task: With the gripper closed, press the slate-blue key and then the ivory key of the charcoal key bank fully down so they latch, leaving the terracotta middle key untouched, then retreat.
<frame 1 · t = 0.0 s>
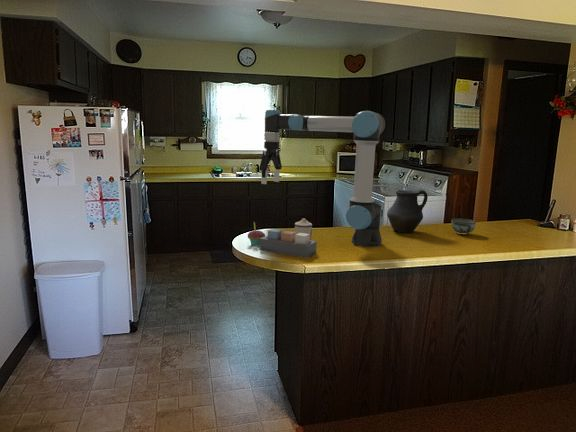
hand: (270, 182, 227), 28 cm above the table, fingers open, 13 cm apart
key terracotta: (288, 237, 201), point 7 cm above the table, slide at 0.0 cm
teacup with lid: (302, 240, 224), on the table
bowl: (462, 234, 255), on the table
key ivory: (302, 239, 198), point 6 cm above the table, slide at 0.0 cm
key bank: (287, 251, 202), on the table
key slate: (274, 235, 204), point 6 cm above the table, slide at 0.0 cm
cupcake: (256, 245, 212), on the table
pitcher: (404, 231, 256), on the table
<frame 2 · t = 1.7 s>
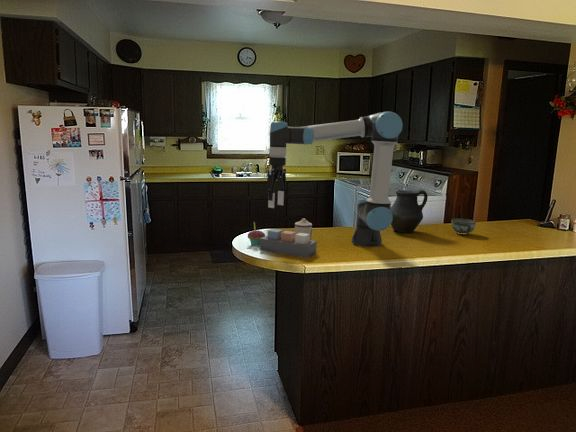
hand: (275, 206, 202), 20 cm above the table, fingers open, 9 cm apart
nothing on the table moved.
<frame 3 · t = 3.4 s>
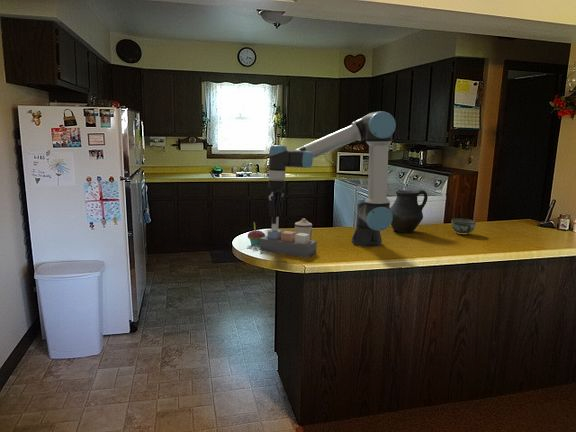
hand: (274, 230, 204), 9 cm above the table, fingers closed
key slate: (274, 236, 204), point 6 cm above the table, slide at 0.2 cm, touching gripper
everything else where it was.
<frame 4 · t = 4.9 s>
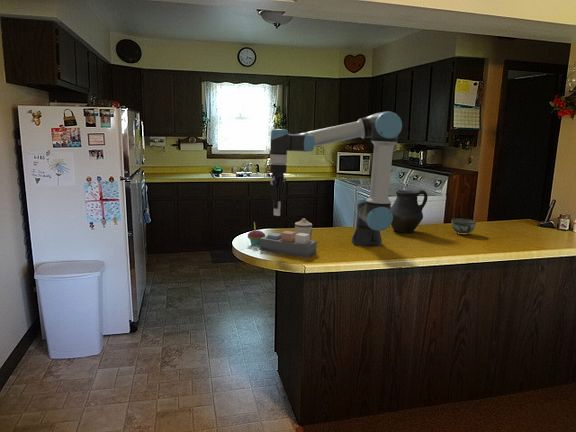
hand: (276, 215, 202), 16 cm above the table, fingers closed
key slate: (274, 239, 204), point 5 cm above the table, slide at 2.0 cm
everything else where it was.
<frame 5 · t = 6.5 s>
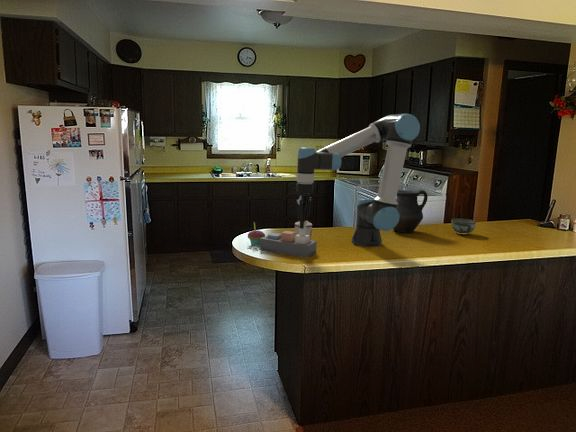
hand: (302, 235, 198), 9 cm above the table, fingers closed
key ivory: (302, 241, 198), point 6 cm above the table, slide at 0.6 cm, touching gripper
everything else where it was.
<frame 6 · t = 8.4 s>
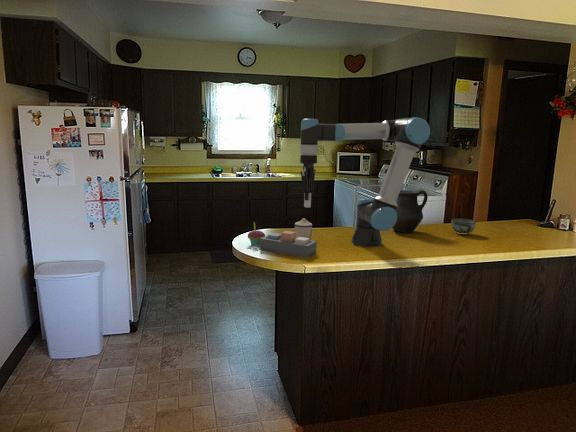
hand: (307, 207, 199), 21 cm above the table, fingers closed
key ivory: (302, 244, 199), point 5 cm above the table, slide at 2.0 cm
everything else where it was.
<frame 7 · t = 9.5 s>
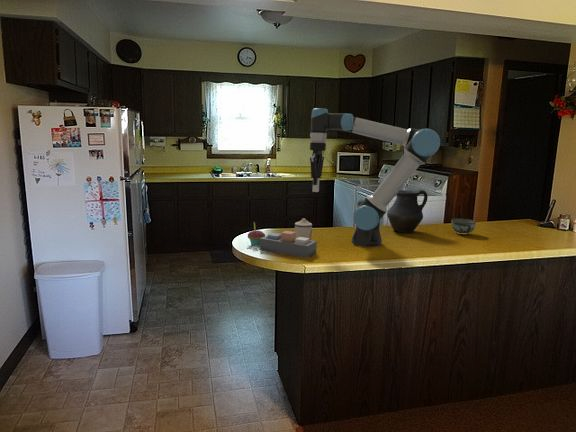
hand: (315, 191, 211), 26 cm above the table, fingers closed
nothing on the table moved.
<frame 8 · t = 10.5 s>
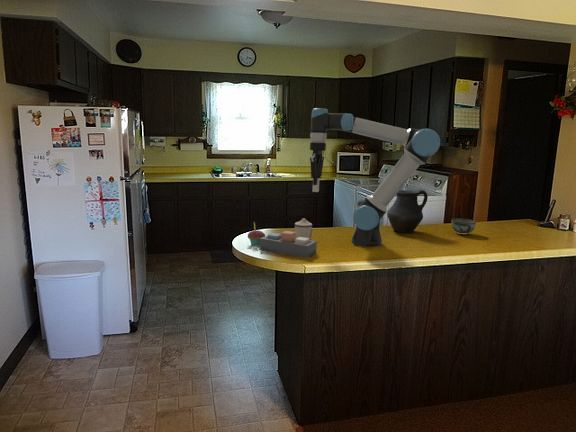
hand: (315, 191, 211), 26 cm above the table, fingers closed
nothing on the table moved.
at the end: key slate slide at 2.0 cm; key ivory slide at 2.0 cm; key terracotta slide at 0.0 cm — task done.
